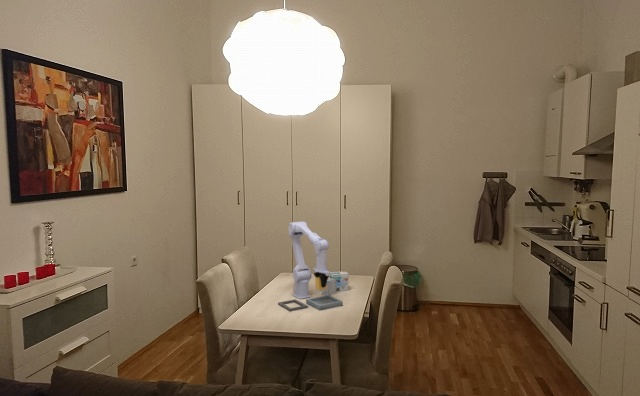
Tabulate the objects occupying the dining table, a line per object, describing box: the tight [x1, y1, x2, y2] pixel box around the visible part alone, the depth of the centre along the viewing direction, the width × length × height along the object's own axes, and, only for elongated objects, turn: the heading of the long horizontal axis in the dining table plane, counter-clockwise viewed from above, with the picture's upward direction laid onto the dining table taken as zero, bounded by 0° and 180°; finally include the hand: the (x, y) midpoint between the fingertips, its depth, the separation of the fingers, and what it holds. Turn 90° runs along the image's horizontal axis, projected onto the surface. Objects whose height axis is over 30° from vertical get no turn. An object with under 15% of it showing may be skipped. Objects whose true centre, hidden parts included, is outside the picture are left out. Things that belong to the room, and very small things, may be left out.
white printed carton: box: [329, 270, 350, 292], centre depth 276 cm, size 11×7×11 cm, turn 105°
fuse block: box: [315, 277, 327, 293], centre depth 246 cm, size 4×5×8 cm
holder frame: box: [277, 299, 309, 312], centre depth 245 cm, size 14×11×1 cm
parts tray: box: [305, 295, 344, 311], centre depth 247 cm, size 14×15×2 cm
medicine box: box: [321, 277, 337, 296], centre depth 268 cm, size 8×4×9 cm, turn 141°
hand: (321, 286), depth 246 cm, fingers closed on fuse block, 3 cm apart
